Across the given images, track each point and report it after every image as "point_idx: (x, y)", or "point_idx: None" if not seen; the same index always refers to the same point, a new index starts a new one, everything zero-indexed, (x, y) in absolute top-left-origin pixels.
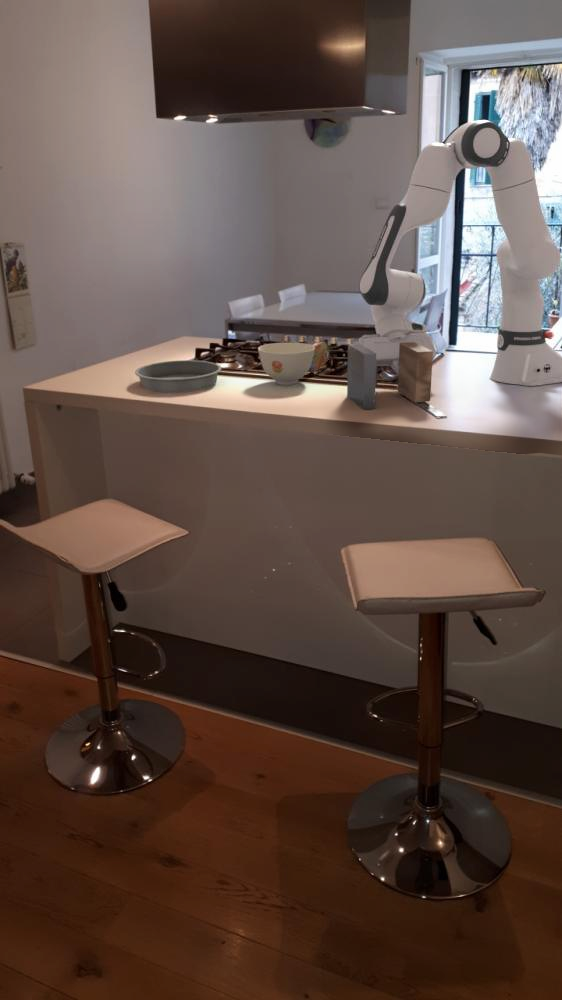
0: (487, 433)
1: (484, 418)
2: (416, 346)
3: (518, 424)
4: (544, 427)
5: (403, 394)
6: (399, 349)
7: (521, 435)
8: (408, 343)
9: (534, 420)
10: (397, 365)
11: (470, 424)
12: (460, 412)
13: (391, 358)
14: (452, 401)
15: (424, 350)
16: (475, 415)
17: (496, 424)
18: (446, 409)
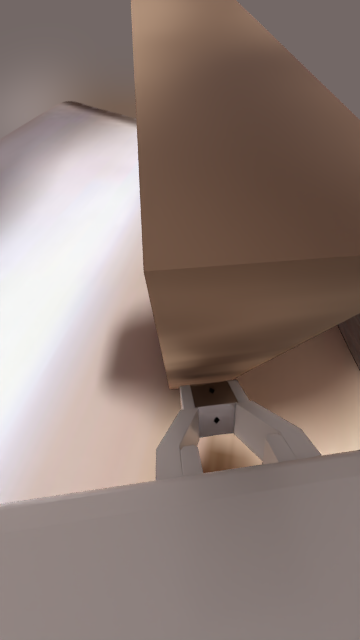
0: (128, 124)
1: (92, 168)
2: (203, 61)
3: (58, 142)
4: (30, 129)
5: None
6: (357, 306)
7: (87, 115)
8: (289, 170)
9: (16, 151)
10: (267, 419)
11: (133, 151)
12: (116, 199)
13: (355, 453)
14: (89, 270)
15: (177, 5)
16: (98, 182)
17: (92, 146)
18: (136, 218)
